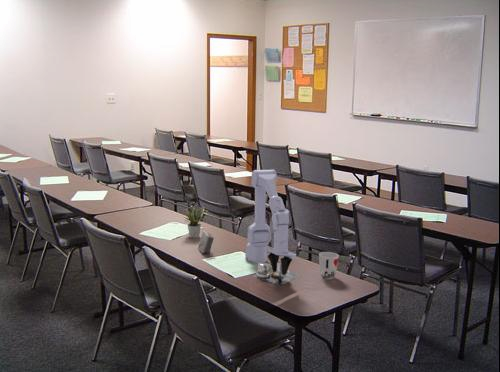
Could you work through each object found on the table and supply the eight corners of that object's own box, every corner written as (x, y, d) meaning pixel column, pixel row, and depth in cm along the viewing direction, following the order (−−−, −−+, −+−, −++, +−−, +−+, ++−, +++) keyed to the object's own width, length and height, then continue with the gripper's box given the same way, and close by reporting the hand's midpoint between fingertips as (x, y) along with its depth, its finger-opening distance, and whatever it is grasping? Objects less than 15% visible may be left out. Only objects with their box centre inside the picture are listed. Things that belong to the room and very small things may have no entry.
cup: (322, 281, 218) (324, 258, 216) (315, 274, 225) (316, 252, 223) (340, 279, 220) (341, 257, 218) (332, 273, 228) (333, 251, 226)
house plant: (212, 232, 285) (212, 203, 282) (207, 240, 271) (207, 209, 268) (186, 231, 286) (186, 202, 283) (180, 238, 273) (180, 208, 269)
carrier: (251, 278, 219) (252, 269, 218) (273, 269, 230) (273, 260, 229) (280, 288, 209) (281, 278, 209) (301, 278, 221) (302, 268, 220)
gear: (271, 273, 213) (271, 261, 213) (280, 270, 218) (280, 258, 217) (282, 277, 210) (283, 265, 209) (291, 274, 214) (292, 262, 213)
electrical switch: (197, 248, 258) (199, 230, 256) (207, 248, 259) (209, 230, 258) (202, 254, 249) (203, 235, 247) (212, 254, 250) (214, 235, 249)
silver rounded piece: (252, 275, 219) (253, 264, 218) (261, 272, 223) (261, 260, 222) (264, 279, 215) (264, 267, 214) (272, 275, 220) (273, 264, 219)
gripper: (301, 241, 209) (300, 274, 211) (273, 235, 218) (272, 267, 220) (290, 245, 203) (289, 278, 205) (262, 238, 213) (261, 270, 215)
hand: (280, 273), depth 212 cm, fingers closed on gear, 4 cm apart
